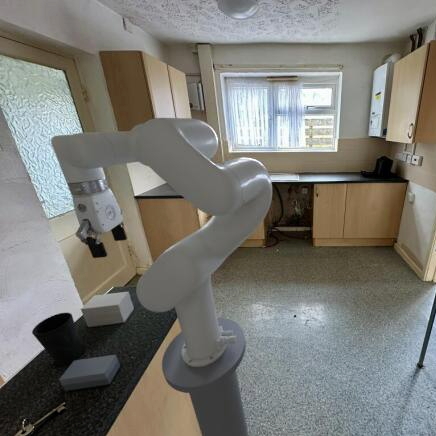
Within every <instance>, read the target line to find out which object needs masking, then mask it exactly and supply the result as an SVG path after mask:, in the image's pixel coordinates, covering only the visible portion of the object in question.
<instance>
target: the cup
mask: <svg viewBox="0 0 436 436" xmlns="http://www.w3.org/2000/svg"><path fill="white" fill-rule="evenodd" d="M31 334H32V335H33V337H35V339H36V340H37V342H39V343H40V345H41V346H42V347H43V349H45V351H46V352H47V353H48V355H49V356H50V357H51V358H52V360H54V362H55V363H56V364H57V365H58V366H65V365H68V364H71V363H73V361H75V360H78V358H79V357H81V355H82V354H83V353H84V349H83V345H82V342H81V340H80V336H79V332H78V330H77V326H76V323H75V320H74V318H73V315H72V313H70V312H60V313H56V314H53V315H51V316H48V317H47V318H44V319H43V320H42V321H40V322H38V323H37V324H36V325H35V326H34V327H33V329H32V332H31Z"/></svg>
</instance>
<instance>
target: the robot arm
mask: <svg viewBox="0 0 436 436" xmlns="http://www.w3.org/2000/svg"><path fill="white" fill-rule="evenodd" d="M50 145H51V147H52V149H53V152H54V155H55V157H56V160H57V162H58V165H59V167H60V170H61V172H62V175H63V177H64V181H65V182H66V185H67V187H68V190H69V192H70V195H71V197H72V204H73V208H74V212H75V216H76V219H77V221H78V224H79V227H78V229H77V230H76V232H75V236H76V237H77V238H78V239H79V240H80V242H81V243H83V244H85V246H88V249H89V252H90V255H91V256H92V258H93V259H100V258H106V257H108V252H107V250H106V247H105V244H104V242H103V241H101V240H102V234H107V233H108V232H110V231H111V235H112V237H113V241H115V242H121V241H126V240H127V239H128V237H127V233H126V231H125V228H124V225H125V224H124V222H123V221H124V217H123V210H122V209H121V208H120V205H119V204H118V201H117V198H116V196H115V195H114V193H113V191H112V190H111V188H110V187H109V184H108V181H107V178H106V175H105V171H104V168H108V167H111V166H119V165H124V164H125V165H126V164H130V163H131V164H132V163H140V164H142V165H143V166H146V167H149V168H150V169H151V170H152V171H153V172H154V173H155V174H156V175H157V176H158V177H159V178H160V179H162V180H163V181H164V182H165V183H166V184H168V185H169V186H170V188H172V189H173V190H175V192H177V193H178V194H179V195H180V196H182V197H183V198H184V199H185V200H186V201H187V202H188V203H190V204H191V205H192V206H193V207H195V208H196V209H197V210H199V211H201V212H202V213H204V214H206V215H209V216H211V217H210V219H209V220H208V221H207V222H206V223H205V224H204V225H202V227H200V228H199V229H198V230H196V231H194V232H192V233H191V234H189V235H187V236H186V237H184V238H182V239H181V240H179V241H177V242H176V243H175V244H172V245H171V246H170V247H168V248H167V249H165V250H164V252H162V253H161V254H159V256H158V257H157V258H156V259H155V260H154V262H152V264H151V265H150V266H149V267H148V268H147V269H146V270H145V272H143V273H142V275H141V276H140V278H139V279H138V281H137V284H136V288H135V289H136V290H135V291H136V298H137V300H138V302H139V303H140V305H141V306H142V307H143V308H144V309H146V310H148V311H150V312H152V313H153V312H154V313H165V312H169V311H171V310H172V309H175V314H176V317H177V321H178V324H179V328H180V332H182V335H183V339H184V342H185V343H184V345H183V348H182V353H181V354H182V358H183V361H184V362H185V364H187V365H188V366H191V367H203V366H206V365H209V364H211V363H213V362H214V361H216V360H217V359H218V358H219V357H220V356H221V355H222V354H223V353H224V351H225V349H226V347H227V344H229V343H230V344H232V343H236V336H231V335H233V330H231V331H226V332H225V331H223V328H222V326H219V324H218V319H217V318H218V315H217V309H216V305H215V298H214V293H213V289H212V288H213V287H212V275H213V273H214V272H216V271H217V269H218V268H220V267H221V265H222V264H223V263H224V262H225V261H226V259H228V257H229V256H230V255H231V254H232V253H233V252H235V251H236V250H237V249H238V248H239V247H240V246H241V245H243V243H244V242H245V241H247V239H248V238H249V237H250V236H252V235H253V233H254V232H256V231H257V229H258V228H259V227H260V226H261V224H262V223H263V221H264V220H265V218H266V216H267V214H268V212H269V211H270V207H271V204H272V200H273V184H272V179H271V176H270V173H269V171H268V169H267V168H266V167H265V165H264V164H263V163H262V162H260V161H259V160H257V159H254V158H251V157H237V158H236V157H235V158H233V159H228V160H225V161H221V162H218V163H214V162H212V160H211V159H213V158H214V156H215V155H216V153H217V152H218V147H219V140H218V136H217V133H216V132H215V130H214V129H213V128H212V127H211V126H210V125H209V124H208V123H206V122H205V121H203V120H200V119H197V118H192V117H191V118H190V117H154V118H151V119H149V120H147V121H145V122H144V123H139V124H136V125H134V126H133V127H132V128H131V130H125V131H124V130H123V131H95V132H93V131H92V132H78V133H73V134H61V135H60V134H59V135H54V136H52V137H51V138H50ZM93 236H94V237H93ZM227 336H230V337H227Z"/></svg>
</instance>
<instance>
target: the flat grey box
mask: <svg viewBox="0 0 436 436" xmlns="http://www.w3.org/2000/svg"><path fill="white" fill-rule="evenodd" d="M129 299H131V295H130V291H121V292H113V293H103V294H98V295H97V294H96V295H93V296H91V298H89V300H88V301H87V302H86V303H85V304H84V305H83V306H82V307H81V308H80V311H81V313H82V316H83V315H88V314H97V313H105V312H113V311H120V310H121V309H122V308H123V307H124V305H125V304H126V303H127V301H128V300H129Z"/></svg>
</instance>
